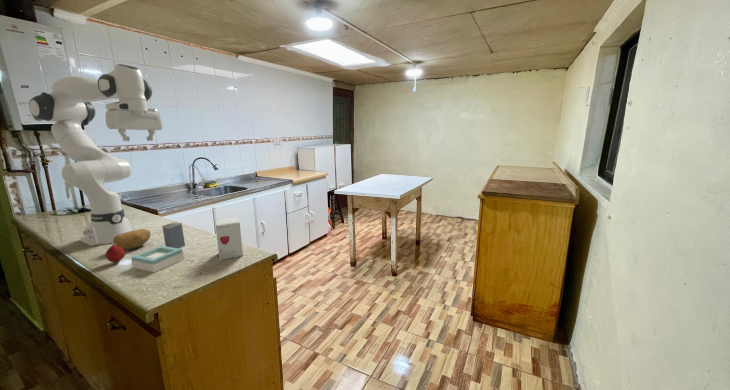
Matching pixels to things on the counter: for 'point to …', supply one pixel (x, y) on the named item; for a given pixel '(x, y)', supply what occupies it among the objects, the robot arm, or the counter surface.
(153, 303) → the counter surface
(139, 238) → the potato
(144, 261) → the display stand
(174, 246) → the blue-grey box
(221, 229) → the supplement box
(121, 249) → the onion
